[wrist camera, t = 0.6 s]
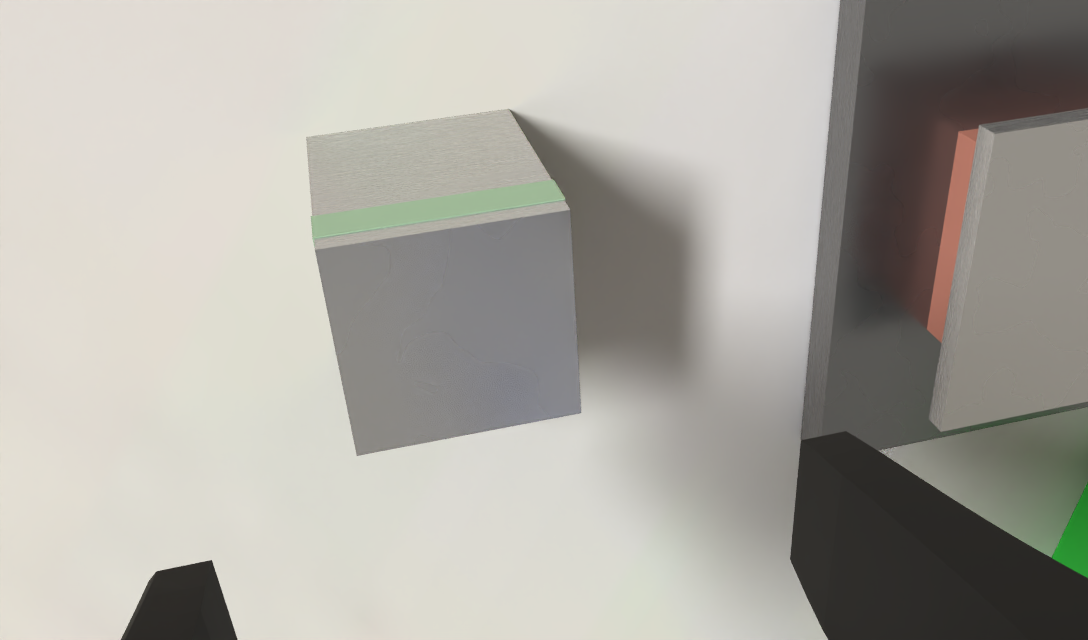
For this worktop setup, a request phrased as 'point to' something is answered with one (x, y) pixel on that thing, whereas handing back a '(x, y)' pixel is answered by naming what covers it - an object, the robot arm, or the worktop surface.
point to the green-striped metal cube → (444, 278)
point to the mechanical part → (1075, 539)
